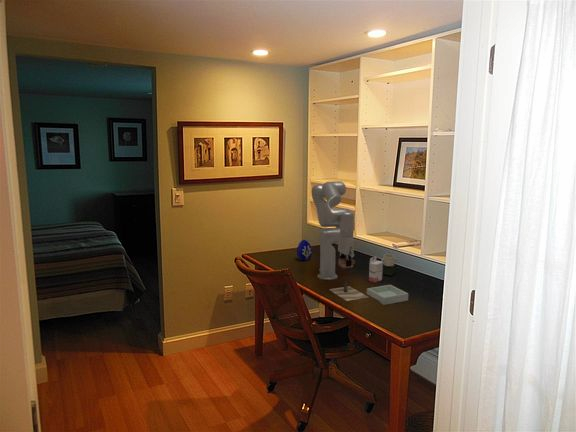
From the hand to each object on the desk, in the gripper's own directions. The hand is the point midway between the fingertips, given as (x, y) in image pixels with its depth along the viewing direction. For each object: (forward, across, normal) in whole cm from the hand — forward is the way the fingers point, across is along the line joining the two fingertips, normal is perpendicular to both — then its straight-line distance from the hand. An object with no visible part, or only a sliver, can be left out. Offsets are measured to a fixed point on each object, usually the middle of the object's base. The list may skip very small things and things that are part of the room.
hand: (345, 264), depth 255 cm
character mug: (+18, -17, +43) cm, 49 cm away
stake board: (+17, +4, 0) cm, 17 cm away
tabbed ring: (+1, 0, +1) cm, 2 cm away
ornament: (+19, -71, +9) cm, 74 cm away
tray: (+17, +17, +17) cm, 29 cm away
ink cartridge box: (+18, -11, +29) cm, 35 cm away
